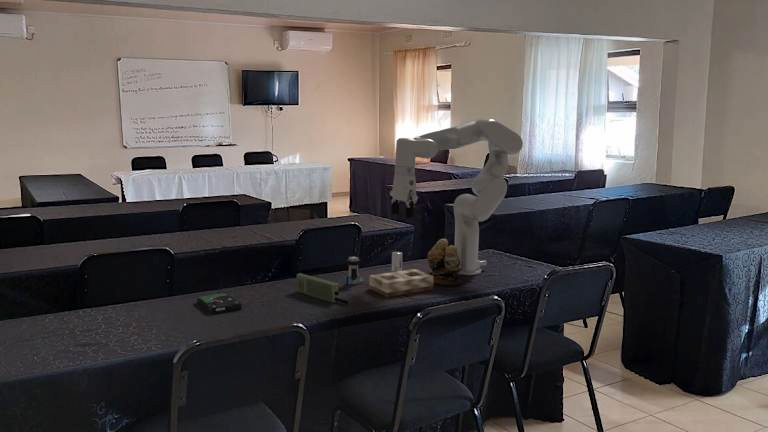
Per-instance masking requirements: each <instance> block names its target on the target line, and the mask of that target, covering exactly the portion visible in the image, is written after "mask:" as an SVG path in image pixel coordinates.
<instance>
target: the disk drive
mask: <svg viewBox="0 0 768 432" xmlns="http://www.w3.org/2000/svg"><path fill="white" fill-rule="evenodd" d="M196 300H197V304H198V305H199V306H201V307H202V308H203V309H204V310H206V311H207V312H208V313H209V314H211V315H217V314H223V313H228V312H230V313H231V312H235V311H242V310H243V303H242V302H241V301H239V300H238V299H236V298H234V297H233V296H232V295H230V294H229V293H228V292H219V293H213V294H208V295H203V296H200V295H199V296H198V297H197V299H196Z"/></svg>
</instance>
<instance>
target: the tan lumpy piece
mask: <svg viewBox="0 0 768 432" xmlns="http://www.w3.org/2000/svg"><path fill="white" fill-rule="evenodd" d="M427 263H428V267H429V269H430V270H431V272H428V273H427V274H429V275H432V276H434V277H433V286H439V287H444V288H445V287H455V286H461V285H462V279H460V277H458V276H457V275H458V274H457V273H459V271H461V270H462V267H459V265H460V258H459V256H458V255H457V247H455V245H452V244H450V245H449V241H448V239H447V238H441V239H438V241H436V243H435V244H434V245H433V247H431V249H430V251H428V253H427Z"/></svg>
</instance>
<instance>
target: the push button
mask: <svg viewBox="0 0 768 432" xmlns="http://www.w3.org/2000/svg"><path fill="white" fill-rule="evenodd" d="M345 261H346V264H347V265H348V275H347V276H346V284H347V285H349V286H350V285H351V284H352V285H357V284H358V285H359V284H361V282H362V280H363V279H364V277H363V278H362V277H361V276H359V266H360V265H361V259H359V257H358V256H349V257H348V259H346V260H345Z"/></svg>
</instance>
